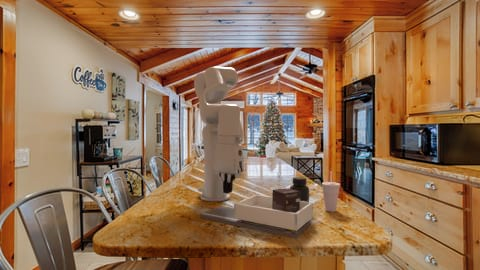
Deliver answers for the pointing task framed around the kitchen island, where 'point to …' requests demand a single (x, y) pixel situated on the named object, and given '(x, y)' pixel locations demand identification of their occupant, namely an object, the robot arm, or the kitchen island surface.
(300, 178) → the supplement bottle
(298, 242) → the kitchen island surface
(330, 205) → the smoothie
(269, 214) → the white tray
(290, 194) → the box
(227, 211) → the rail board
